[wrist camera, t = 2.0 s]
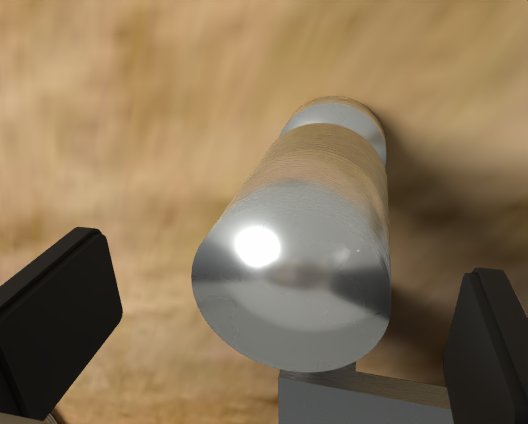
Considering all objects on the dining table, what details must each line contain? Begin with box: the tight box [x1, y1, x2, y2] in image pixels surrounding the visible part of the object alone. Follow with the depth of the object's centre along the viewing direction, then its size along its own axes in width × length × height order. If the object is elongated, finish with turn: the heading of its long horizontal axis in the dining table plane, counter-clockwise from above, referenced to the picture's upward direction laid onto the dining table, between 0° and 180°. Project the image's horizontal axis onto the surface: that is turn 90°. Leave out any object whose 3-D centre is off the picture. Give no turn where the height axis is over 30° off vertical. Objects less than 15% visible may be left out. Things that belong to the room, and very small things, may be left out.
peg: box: [191, 96, 392, 372], centre depth 15 cm, size 5×5×12 cm
